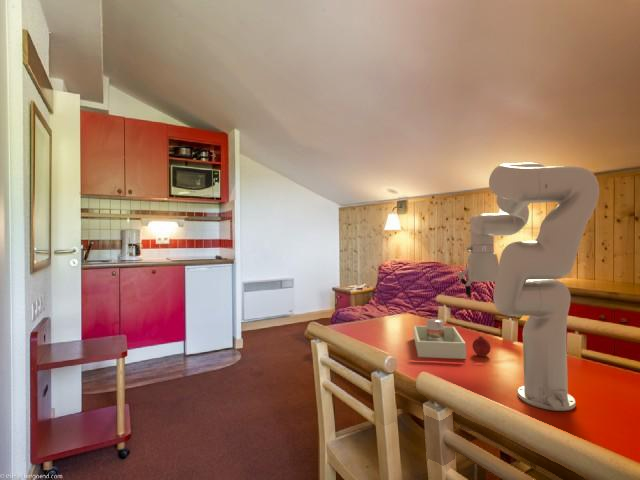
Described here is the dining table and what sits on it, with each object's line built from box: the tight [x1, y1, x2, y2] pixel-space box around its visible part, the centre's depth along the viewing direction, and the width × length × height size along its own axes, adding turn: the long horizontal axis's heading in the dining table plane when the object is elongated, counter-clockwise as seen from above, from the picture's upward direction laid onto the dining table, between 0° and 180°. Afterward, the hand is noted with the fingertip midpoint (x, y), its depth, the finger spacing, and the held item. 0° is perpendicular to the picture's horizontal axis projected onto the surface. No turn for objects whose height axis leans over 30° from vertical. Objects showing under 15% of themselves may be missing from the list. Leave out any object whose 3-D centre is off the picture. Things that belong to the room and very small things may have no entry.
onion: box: [472, 334, 492, 358], centre depth 121 cm, size 6×6×8 cm
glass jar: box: [426, 318, 445, 342], centre depth 137 cm, size 6×6×9 cm
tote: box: [413, 325, 467, 360], centre depth 131 cm, size 22×16×6 cm
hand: (483, 296), depth 124 cm, fingers open, 9 cm apart
